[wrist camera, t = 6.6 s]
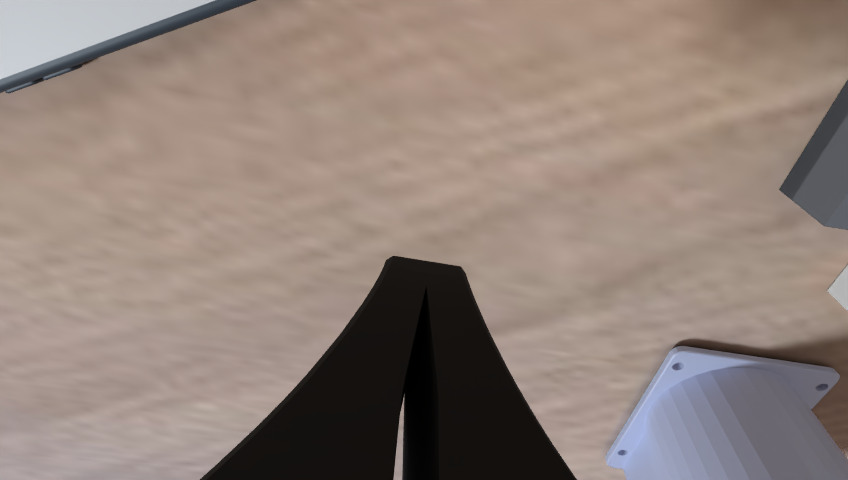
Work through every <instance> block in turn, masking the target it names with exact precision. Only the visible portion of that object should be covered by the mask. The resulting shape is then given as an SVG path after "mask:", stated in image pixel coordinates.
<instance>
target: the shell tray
mask: <svg viewBox="0 0 848 480" xmlns="http://www.w3.org/2000/svg"><path fill="white" fill-rule="evenodd" d="M779 190H780V191H781V192H783V193H784V194H785V195H786V196H787V197H789V198H790V199H791V200H792V201H794V202H795V203H796V204H797V205H799V206H800V207H801V208H802V209H803V210H805V211H806V212H807V213H808V214H810V215H811V216H812V217H813V218H815V219H816V220H817V221H818V222H820V223H821V224H822V225H823V226H826V227H832V228H839V229H845V230H848V80H847V82H846V84H845V85H844V87H843V88H842V90H841V92H840V93H839V95H838V96H837V98H836V100H835V101H834V103H833V104H832V106H831V108H830V109H829V111H828V112H827V114H826V116H825V117H824V119H823V120H822V122H821V124H820V125H819V127H818V128H817V130H816V132H815V133H814V135H813V136H812V138H811V140H810V141H809V143H808V144H807V146H806V148H805V149H804V151H803V152H802V154H801V156H800V157H799V159H798V160H797V162H796V164H795V165H794V167H793V168H792V170H791V172H790V173H789V175H788V176H787V178H786V180H785V181H784V183H783V184H782V186H781V188H780V189H779Z"/></svg>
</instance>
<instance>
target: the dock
mask: <svg viewBox="0 0 848 480" xmlns="http://www.w3.org/2000/svg"><path fill="white" fill-rule="evenodd" d="M827 291H828V292H829V293H830V294H831V295H832V296H833V297H834V298H835V299H836V300H837V301H838V302H839V303H840V304H841V305H842V306H843V307H844V308H845V309H846V310H847V311H848V265H847V266H846V268H845V269H844V270H843V271H842V273H841V274H840V275H839V277H838V278H837V279H836V280H835V282H834V283H833V284H832V285H831V287H830V288H829V289H828V290H827Z"/></svg>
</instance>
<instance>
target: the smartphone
mask: <svg viewBox="0 0 848 480" xmlns="http://www.w3.org/2000/svg"><path fill="white" fill-rule="evenodd" d="M253 1H256V0H0V93H1V92H4V91H5V92H6V93H11V92H14V91H17V90H20V89H23V88H25V87H28V86H31V85H34V84H36V83H39V82H42V81H44V80H48V79H50V78H53V77H56V76H59V75H62V74H64V73H67V72H70V71H73V70H75V69H78V68H81V67H82V64H81V63H84V62H87V61H89V60H92V59H95V58H98V57H101V56H103V55H106V54H109V53H112V52H114V51H117V50H120V49H123V48H126V47H128V46H131V45H134V44H137V43H139V42H142V41H145V40H148V39H150V38H153V37H156V36H159V35H162V34H164V33H167V32H170V31H173V30H175V29H178V28H181V27H184V26H187V25H189V24H192V23H195V22H198V21H200V20H203V19H206V18H209V17H211V16H214V15H217V14H220V13H223V12H225V11H228V10H231V9H234V8H236V7H239V6H242V5H245V4H248V3H250V2H253Z"/></svg>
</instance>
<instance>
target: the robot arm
mask: <svg viewBox="0 0 848 480" xmlns="http://www.w3.org/2000/svg"><path fill="white" fill-rule="evenodd" d="M839 379H840V375H839V374H838V373H837V372H836V371H835V370H834V369H833V368H830V367H824V366H817V365H810V364H803V363H797V362H790V361H783V360H776V359H769V358H762V357H756V356H749V355H742V354H735V353H728V352H721V351H715V350H708V349H701V348H694V347H687V346H678V347H675V348H673V349H672V350H671V351H670V352H669V354H668V355H667V357H666V359H665V360H664V362H663V363H662V365H661V367H660V368H659V370H658V372H657V373H656V375H655V376H654V378H653V380H652V381H651V383H650V385H649V386H648V388H647V390H646V391H645V393H644V394H643V396H642V398H641V399H640V401H639V403H638V404H637V406H636V407H635V409H634V411H633V412H632V414H631V416H630V417H629V419H628V420H627V422H626V424H625V425H624V427H623V429H622V430H621V432H620V434H619V435H618V437H617V438H616V440H615V442H614V443H613V445H612V447H611V448H610V450H609V451H608V453H607V455H606V457H605V459H606V463H607V465H608V466H610V467H613V468H620V469H623V470H624V473H625V476H626V480H848V459H847V458H846V457H845V455H844V454H843V452H842V451H841V450H840V448H839V447H838V446H837V444H836V443H835V442H834V440H833V439H832V437H831V436H830V435H829V433H828V432H827V431H826V429H825V428H824V427H823V425H822V424H821V423H820V421H819V420H818V418H817V417H816V416H815V414H814V413H813V412H812V408H813V407H814V406H815V405H816V404H817V403H818V402H819V401H820V400H821V399H822V398H823V397H824V396H825V395H826V394H827V393H828V391H829V390H830V389H831V388H832V387H833V386H834V385H835V384H836V383H837V382H838V380H839ZM404 393H405V396H404ZM403 398H404V434H403V477H402V480H577V479H576V478H575V476H574V475H573V473H572V472H571V471H570V469H569V468H568V466H567V465H566V463H565V462H564V460H563V459H562V457H561V456H560V454H559V453H558V451H557V450H556V448H555V447H554V445H553V444H552V442H551V441H550V439H549V438H548V436H547V435H546V433H545V431H544V430H543V428H542V427H541V425H540V424H539V422H538V420H537V419H536V417H535V415H534V414H533V412H532V410H531V409H530V407H529V405H528V404H527V402H526V400H525V398H524V397H523V395H522V393H521V392H520V390H519V388H518V386H517V385H516V383H515V381H514V379H513V377H512V375H511V374H510V372H509V370H508V368H507V366H506V364H505V362H504V360H503V358H502V356H501V354H500V352H499V350H498V348H497V346H496V344H495V342H494V340H493V338H492V337H491V334H490V332H489V330H488V328H487V326H486V324H485V322H484V319H483V317H482V315H481V312H480V310H479V308H478V306H477V303H476V301H475V298H474V296H473V293H472V291H471V288H470V285H469V282H468V280H467V277H466V273H465V272H464V270H463V269H462V268H461V267H460V266H454V265H448V264H442V263H435V262H429V261H423V260H417V259H410V258H404V257H398V256H392V257H390V258H389V259H387V260H386V262H385V265H384V267H383V269H382V271H381V273H380V275H379V277H378V279H377V281H376V283H375V284H374V286H373V288H372V289H371V291H370V293H369V294H368V296H367V297H366V299H365V300H364V302H363V303H362V305H361V306H360V308H359V309H358V310H357V312H356V313H355V315H354V316H353V317H352V319H351V320H350V322H349V323H348V324H347V326H346V327H345V328H344V330H343V331H342V333H341V334H340V335H339V336H338V338H337V339H336V340H335V341H334V343H333V344H332V345H331V346H330V347H329V349H328V350H327V351H326V352H325V353H324V355H323V356H322V357H321V358H320V359H319V361H318V362H317V363H316V364H315V365H314V367H313V368H312V369H311V370H310V371H309V373H308V374H307V375H306V376H305V377H304V378H303V379H302V380H301V381H300V383H299V384H298V385H297V386H296V387H295V388H294V389H293V390H292V391H291V392H290V393H289V394H288V396H287V397H286V398H285V399H284V400H283V401H282V402H281V403H280V404H279V405H278V406H277V407H276V408H275V409H274V410H273V411H272V412H271V413H270V414H269V415H268V416H267V417H266V418H265V419H264V420H263V421H262V422H261V423H260V424H259V425H258V426H257V427H256V428H255V429H254V430H253V431H252V432H251V433H250V434H249V435H248V436H247V437H246V438H244V439H243V440H242V441H241V442H240V443H239V444H238V445H237V446H236V447H235V448H234V449H233V450H232V451H231V452H230V453H228V454H227V455H226V456H225V457H224V458H223V459H222V460H221V461H220V462H219V463H218V464H217V465H216V466H215V467H213V468H212V469H211V470H210V471H209V472H208V473H207V474H206V475H204V476H203V477H202V478H201V479H200V480H393V477H394V467H395V456H396V446H397V436H398V426H399V416H400V411H401V407H402V402H403Z"/></svg>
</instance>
